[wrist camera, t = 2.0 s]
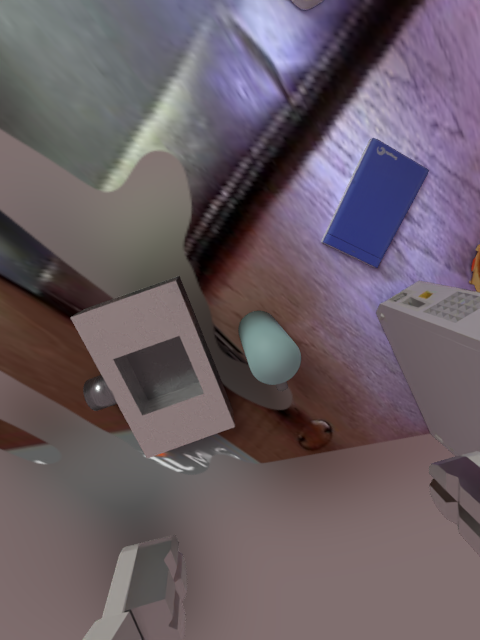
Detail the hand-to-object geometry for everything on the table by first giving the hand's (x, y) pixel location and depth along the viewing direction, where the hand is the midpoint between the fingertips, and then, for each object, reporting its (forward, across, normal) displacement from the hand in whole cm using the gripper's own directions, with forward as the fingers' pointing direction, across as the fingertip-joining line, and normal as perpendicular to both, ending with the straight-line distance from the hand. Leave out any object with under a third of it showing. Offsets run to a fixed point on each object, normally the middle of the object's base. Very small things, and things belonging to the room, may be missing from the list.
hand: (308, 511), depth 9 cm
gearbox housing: (+29, +11, +5) cm, 31 cm away
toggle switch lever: (+29, -3, +3) cm, 29 cm away
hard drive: (+29, -20, -9) cm, 36 cm away
